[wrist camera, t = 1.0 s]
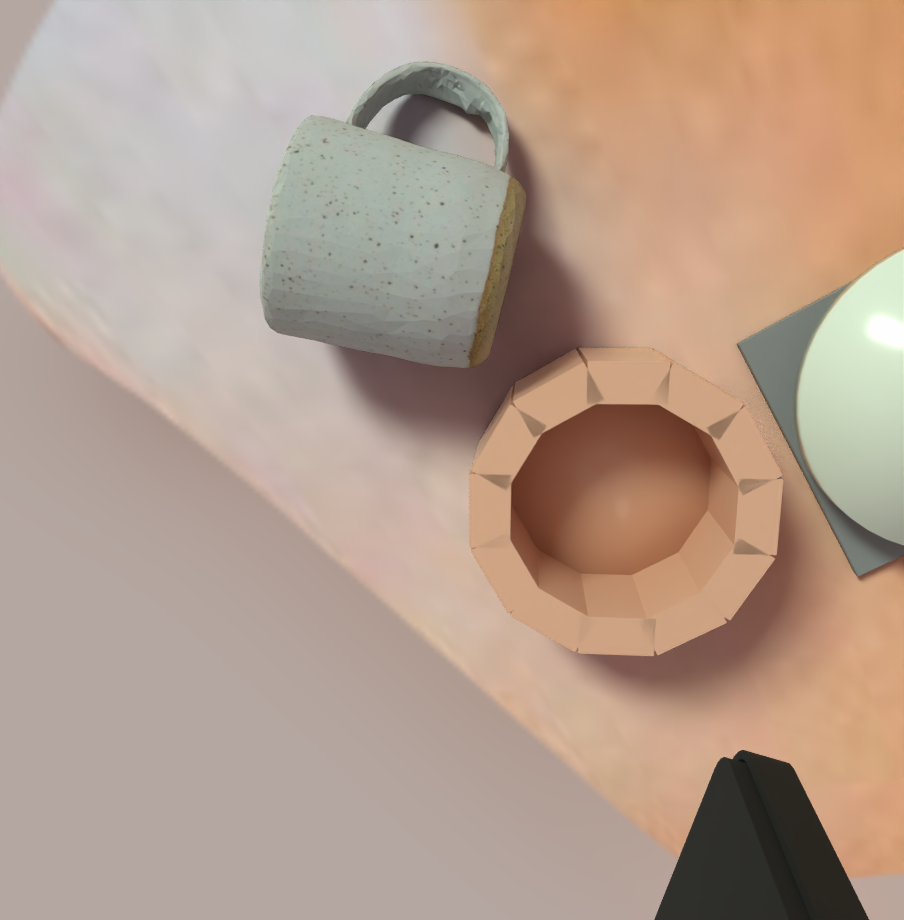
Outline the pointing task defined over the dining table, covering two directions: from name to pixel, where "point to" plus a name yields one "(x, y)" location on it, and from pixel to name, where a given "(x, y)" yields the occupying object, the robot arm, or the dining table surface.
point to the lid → (858, 400)
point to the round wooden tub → (622, 502)
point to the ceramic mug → (393, 231)
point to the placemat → (775, 374)
